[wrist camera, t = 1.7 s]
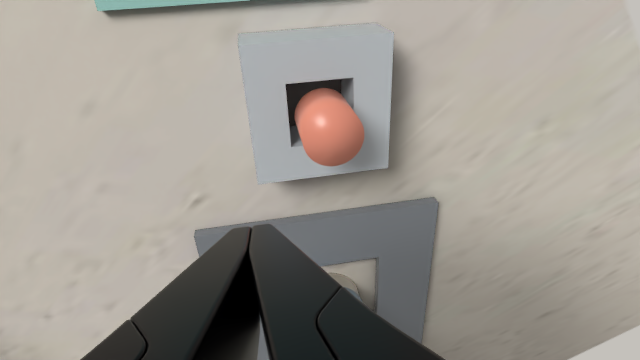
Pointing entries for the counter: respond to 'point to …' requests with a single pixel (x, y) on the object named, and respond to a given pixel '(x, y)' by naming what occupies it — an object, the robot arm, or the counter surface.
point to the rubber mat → (149, 3)
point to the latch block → (307, 66)
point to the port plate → (365, 252)
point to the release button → (328, 127)
